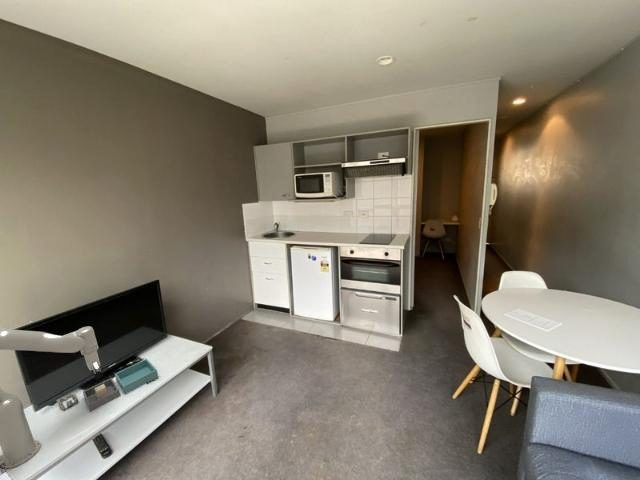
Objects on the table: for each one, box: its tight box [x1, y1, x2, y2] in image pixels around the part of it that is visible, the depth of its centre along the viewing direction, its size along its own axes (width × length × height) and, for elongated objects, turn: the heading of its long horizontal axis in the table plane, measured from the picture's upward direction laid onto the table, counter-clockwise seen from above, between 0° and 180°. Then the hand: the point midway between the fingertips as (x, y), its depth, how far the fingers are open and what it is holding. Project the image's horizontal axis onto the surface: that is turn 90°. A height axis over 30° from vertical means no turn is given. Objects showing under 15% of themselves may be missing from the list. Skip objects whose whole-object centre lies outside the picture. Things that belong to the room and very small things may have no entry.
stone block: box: [94, 384, 108, 399], centre depth 158 cm, size 4×4×6 cm
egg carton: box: [57, 393, 79, 411], centre depth 155 cm, size 11×8×4 cm
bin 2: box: [114, 358, 159, 395], centre depth 172 cm, size 18×18×6 cm
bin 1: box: [82, 377, 121, 412], centre depth 159 cm, size 14×16×5 cm
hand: (97, 374), depth 156 cm, fingers open, 9 cm apart
